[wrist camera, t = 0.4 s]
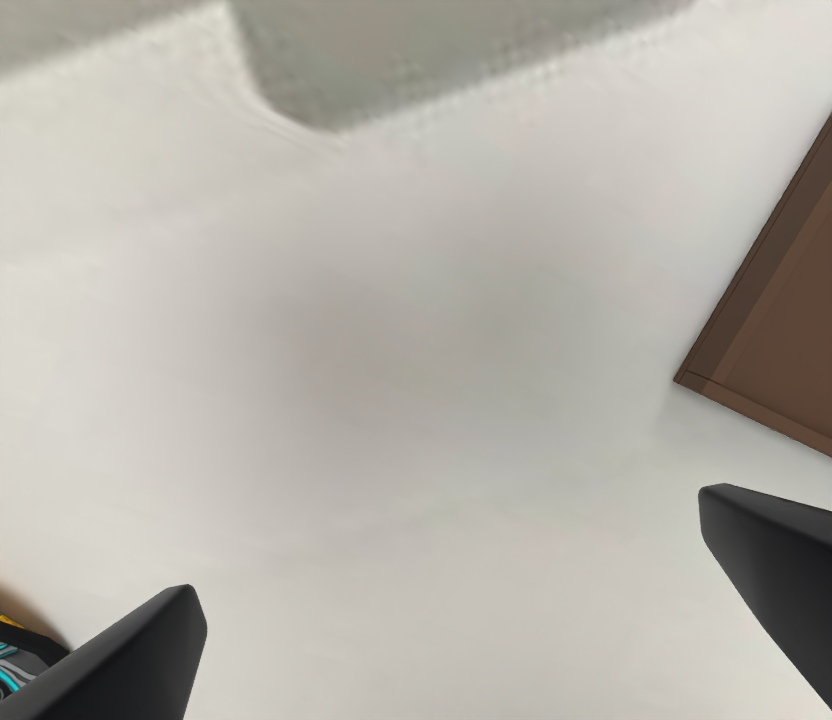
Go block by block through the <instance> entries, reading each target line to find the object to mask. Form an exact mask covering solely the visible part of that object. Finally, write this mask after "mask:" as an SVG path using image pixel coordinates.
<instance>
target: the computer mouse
mask: <svg viewBox="0 0 832 720" xmlns="http://www.w3.org/2000/svg"><path fill="white" fill-rule="evenodd" d="M69 654H70V653H69V651H67V650H66V649H64V648H63V647H62V646H60V645H59V644H57V643H56V642H55V641H53V640H52V639H50V638H49V637H46V636H43V635H40V634H37V633H34V632H32V631H30V630H28V629H26V628H25V627H23V626H21V625H19V624H18V623H16V622H14V621H13V620H11V619H9V618H7V617H6V616H4V615H2V614H0V701H2V700H3V699H5V698H6V697H8V696H9V695H11V694H12V693H14V692H15V691H17V690H18V689H19V688H21V687H22V686H24V685H25V684H27V683H28V682H30V681H31V680H33V679H34V678H36V677H37V676H39V675H40V674H41V673H43V672H44V671H46V670H47V669H49V668H50V667H52V666H53V665H55V664H56V663H58V662H59V661H61V660H62V659H63V658H65V657H66V656H68V655H69Z"/></svg>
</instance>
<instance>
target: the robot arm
mask: <svg viewBox="0 0 832 720" xmlns="http://www.w3.org/2000/svg"><path fill="white" fill-rule="evenodd" d="M698 501H699V512H700V524H701V532H702V536H703V539H704V541H705V543H706V545H707V547H708V548H709V550H710V551H711V552H712V554H713V555H714V557H715V558H716V560H717V561H718V563H719V564H720V566H721V567H722V569H723V570H724V572H725V573H726V574H727V576H728V577H729V579H730V580H731V582H732V583H733V585H734V586H735V588H736V589H737V591H738V592H739V594H740V595H741V596H742V598H743V599H744V601H745V602H746V604H747V605H748V607H749V608H750V610H751V611H752V613H753V614H754V615H755V617H756V618H757V620H758V621H759V622H760V624H761V625H762V626H763V628H764V629H765V630H766V632H767V633H768V634H769V635H770V637H771V638H772V639H773V640H774V642H775V643H776V644H777V645H778V646H779V648H780V649H781V650H782V651H783V652H784V654H785V655H786V656H787V657H788V658H789V660H790V661H791V662H792V663H793V664H794V666H795V667H796V668H797V669H798V670H799V672H800V673H801V674H802V675H803V676H804V678H805V679H806V680H807V681H808V683H809V684H810V685H811V686H812V687H813V689H814V690H815V691H816V692H817V693H818V695H819V696H820V697H821V698H822V699H823V701H824V702H825V703H826V704H827V705H828V707H829V708H830V709H831V710H832V511H829V510H825V509H821V508H817V507H813V506H810V505H806V504H802V503H798V502H795V501H791V500H787V499H783V498H780V497H776V496H772V495H768V494H764V493H761V492H757V491H753V490H749V489H746V488H742V487H738V486H734V485H731V484H726V483H721V484H716V485H710V486H705V487H702V488H701V489H700V490H699V494H698ZM206 637H207V622H206V619H205V616H204V613H203V610H202V608H201V605H200V602H199V599H198V596H197V593H196V591H195V589H194V588H193V586H191V585H189V584H185V585H179V586H174V587H169V588H166V589H165V590H163V591H162V592H160V593H159V594H157V595H156V596H154V597H153V598H151V599H150V600H148V601H147V602H145V603H144V604H143V605H141V606H140V607H138V608H137V609H135V610H134V611H132V612H131V613H129V614H128V615H126V616H125V617H123V618H122V619H121V620H119V621H118V622H116V623H115V624H113V625H112V626H110V627H109V628H107V629H106V630H104V631H103V632H102V633H100V634H99V635H97V636H96V637H94V638H93V639H91V640H90V641H88V642H87V643H85V644H84V645H82V646H81V647H80V648H78V649H77V650H75V651H74V652H72V653H71V654H69V655H68V656H66V657H65V658H63V659H62V660H61V661H59V662H58V663H56V664H55V665H53V666H52V667H50V668H49V669H47V670H46V671H44V672H43V673H41V674H40V675H39V676H37V677H36V678H34V679H33V680H31V681H30V682H28V683H27V684H25V685H24V686H22V687H21V688H19V689H18V690H17V691H15V692H14V693H12V694H11V695H9V696H8V697H6V698H5V699H3V700H2V701H0V720H183V718H184V714H185V711H186V708H187V704H188V701H189V697H190V694H191V690H192V687H193V683H194V680H195V676H196V673H197V669H198V666H199V662H200V659H201V655H202V652H203V648H204V645H205V641H206Z"/></svg>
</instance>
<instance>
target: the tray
mask: <svg viewBox="0 0 832 720" xmlns="http://www.w3.org/2000/svg"><path fill="white" fill-rule="evenodd" d="M673 381H674V382H676V383H678V384H680V385H682V386H684V387H686V388H689V389H691V390H693V391H695V392H697V393H699V394H701V395H703V396H705V397H707V398H709V399H711V400H713V401H716V402H718V403H720V404H722V405H724V406H726V407H728V408H730V409H732V410H734V411H736V412H738V413H740V414H743V415H745V416H747V417H749V418H751V419H753V420H755V421H757V422H759V423H761V424H763V425H765V426H767V427H769V428H772V429H774V430H776V431H778V432H780V433H782V434H784V435H786V436H788V437H790V438H792V439H794V440H796V441H799V442H801V443H803V444H805V445H807V446H809V447H811V448H813V449H815V450H817V451H819V452H821V453H823V454H825V455H828V456H830V457H832V114H831V116H830V118H829V119H828V121H827V123H826V124H825V126H824V128H823V129H822V131H821V133H820V135H819V136H818V138H817V140H816V141H815V143H814V145H813V146H812V148H811V150H810V151H809V153H808V155H807V156H806V158H805V160H804V161H803V163H802V165H801V166H800V168H799V170H798V171H797V173H796V175H795V177H794V178H793V180H792V182H791V183H790V185H789V187H788V188H787V190H786V192H785V193H784V195H783V197H782V198H781V200H780V202H779V203H778V205H777V207H776V208H775V210H774V212H773V214H772V215H771V217H770V219H769V220H768V222H767V224H766V225H765V227H764V229H763V230H762V232H761V234H760V235H759V237H758V239H757V240H756V242H755V244H754V245H753V247H752V249H751V251H750V252H749V254H748V256H747V257H746V259H745V261H744V262H743V264H742V266H741V267H740V269H739V271H738V272H737V274H736V276H735V277H734V279H733V281H732V282H731V284H730V286H729V287H728V289H727V291H726V293H725V294H724V296H723V298H722V299H721V301H720V303H719V304H718V306H717V308H716V309H715V311H714V313H713V314H712V316H711V318H710V319H709V321H708V323H707V324H706V326H705V328H704V330H703V331H702V333H701V335H700V336H699V338H698V340H697V341H696V343H695V345H694V346H693V348H692V350H691V351H690V353H689V355H688V356H687V358H686V360H685V361H684V363H683V365H682V367H681V368H680V370H679V372H678V373H677V375H676V377H675V378H674V380H673Z"/></svg>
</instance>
